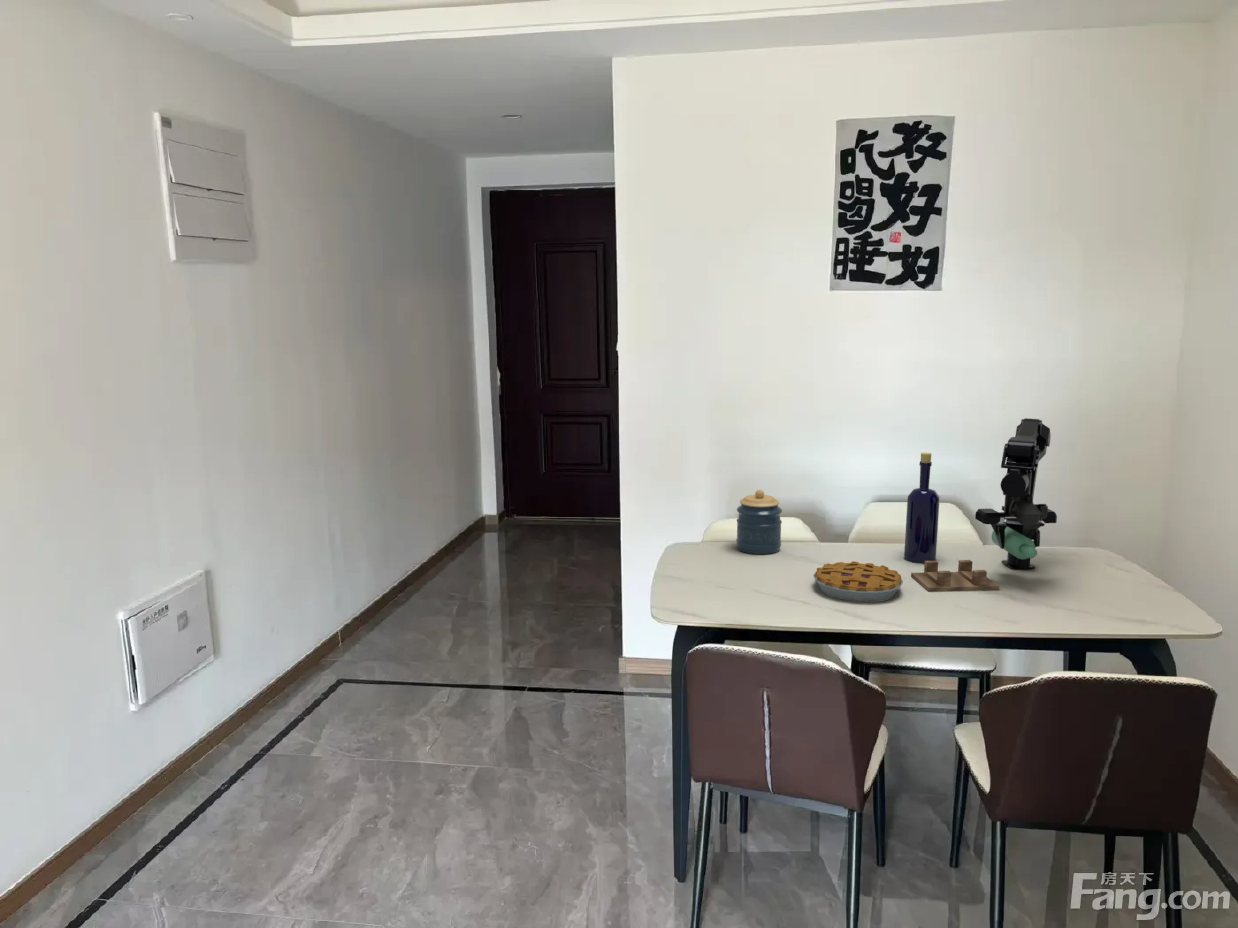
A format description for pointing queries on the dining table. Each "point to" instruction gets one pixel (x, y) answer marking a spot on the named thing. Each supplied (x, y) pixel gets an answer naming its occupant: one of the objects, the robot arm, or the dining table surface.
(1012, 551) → the small bottle
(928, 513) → the bottle
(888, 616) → the dining table surface
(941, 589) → the bottle rest
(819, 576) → the pie
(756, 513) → the canister
